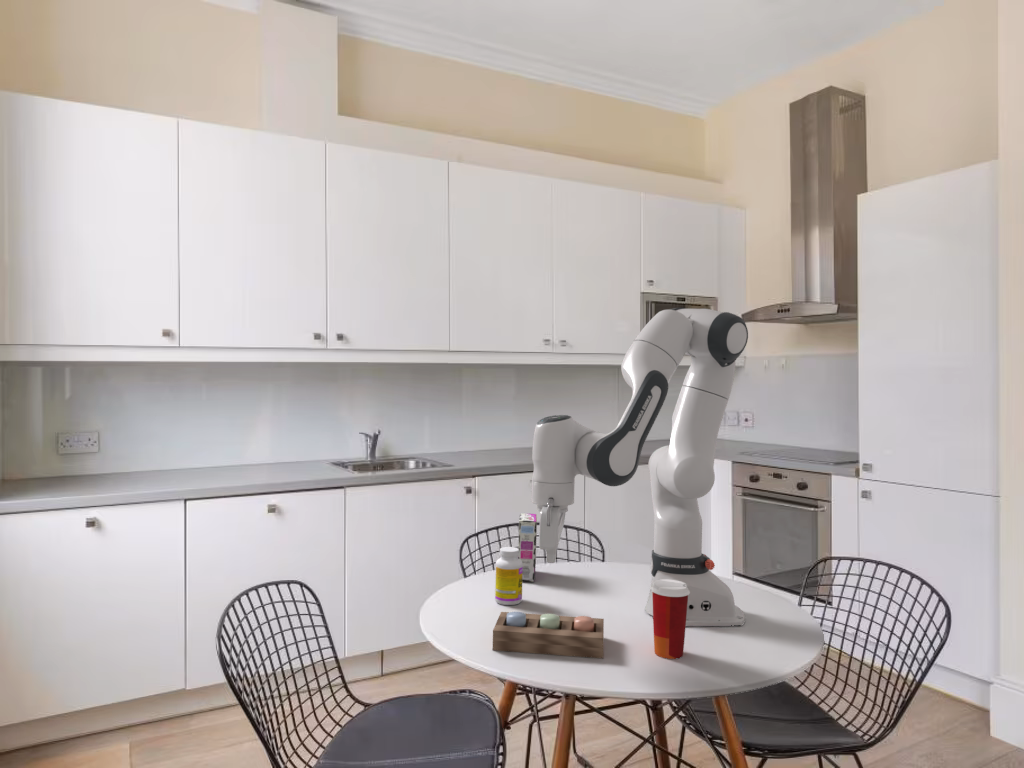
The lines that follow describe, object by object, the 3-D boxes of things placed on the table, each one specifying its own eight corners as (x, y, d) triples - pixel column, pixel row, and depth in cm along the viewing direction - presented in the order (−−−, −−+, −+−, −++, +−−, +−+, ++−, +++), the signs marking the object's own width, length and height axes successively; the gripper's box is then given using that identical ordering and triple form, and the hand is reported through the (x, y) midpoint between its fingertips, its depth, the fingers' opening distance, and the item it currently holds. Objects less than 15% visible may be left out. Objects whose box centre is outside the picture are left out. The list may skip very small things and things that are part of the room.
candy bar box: (535, 582, 184) (537, 521, 183) (517, 582, 184) (518, 520, 184) (535, 570, 195) (536, 513, 195) (517, 570, 195) (519, 512, 195)
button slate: (526, 624, 145) (527, 612, 144) (524, 631, 141) (524, 618, 141) (507, 622, 145) (508, 610, 145) (505, 629, 141) (505, 617, 141)
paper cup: (687, 648, 141) (689, 580, 141) (688, 663, 134) (690, 591, 133) (649, 644, 143) (650, 577, 143) (647, 658, 135) (649, 588, 135)
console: (603, 637, 146) (603, 618, 146) (603, 658, 135) (603, 638, 135) (500, 630, 149) (501, 611, 149) (492, 650, 138) (492, 630, 138)
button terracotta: (593, 628, 143) (594, 616, 143) (593, 635, 139) (593, 623, 139) (574, 627, 143) (574, 615, 143) (573, 634, 139) (573, 622, 139)
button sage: (560, 626, 144) (560, 614, 144) (558, 633, 140) (559, 621, 140) (540, 625, 144) (541, 613, 144) (539, 632, 140) (539, 619, 140)
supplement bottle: (521, 606, 164) (523, 553, 164) (494, 605, 165) (495, 552, 164) (522, 597, 171) (523, 546, 171) (495, 596, 171) (496, 545, 171)
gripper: (565, 504, 131) (563, 576, 131) (570, 487, 151) (569, 549, 151) (532, 502, 132) (530, 574, 132) (541, 485, 152) (540, 548, 152)
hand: (551, 561), depth 142 cm, fingers closed
